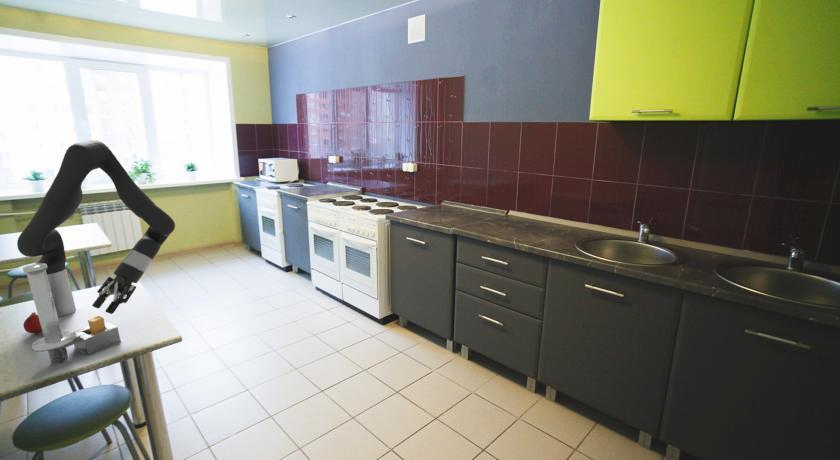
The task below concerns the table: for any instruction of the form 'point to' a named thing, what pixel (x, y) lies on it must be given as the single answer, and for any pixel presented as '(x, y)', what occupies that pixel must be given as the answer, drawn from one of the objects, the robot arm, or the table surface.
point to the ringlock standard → (50, 324)
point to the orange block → (96, 324)
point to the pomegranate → (33, 324)
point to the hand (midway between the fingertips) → (101, 310)
